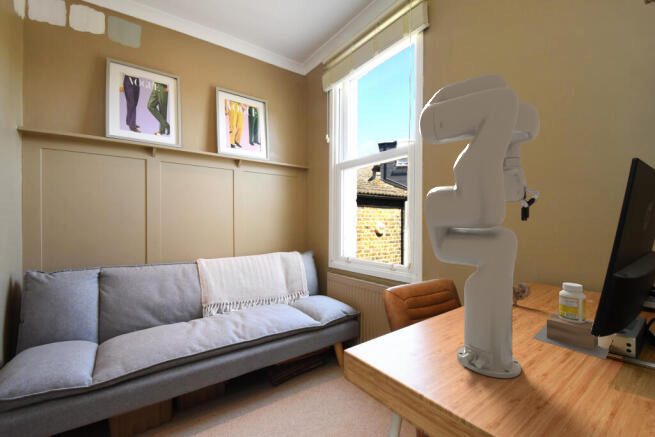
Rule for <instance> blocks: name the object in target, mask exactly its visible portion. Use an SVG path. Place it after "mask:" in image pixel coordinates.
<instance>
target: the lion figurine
mask: <svg viewBox="0 0 655 437" xmlns="http://www.w3.org/2000/svg"><path fill="white" fill-rule="evenodd" d="M531 292H532V291H531V286H530V285H529V284H527V283H524V282H522V283H519V284H517V285H513V306H515V307H516V306H517V307H518V306H520V305H519V304H518V301H523V300H524V299H526V298H528V297H529V296H530V295H531Z"/></svg>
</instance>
